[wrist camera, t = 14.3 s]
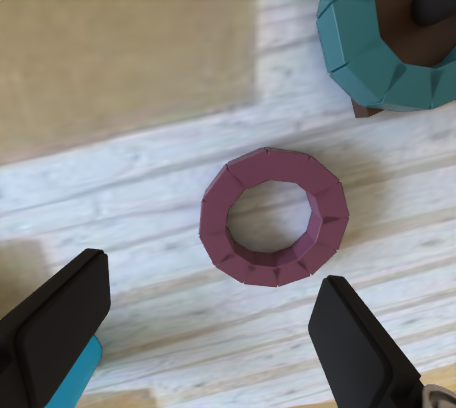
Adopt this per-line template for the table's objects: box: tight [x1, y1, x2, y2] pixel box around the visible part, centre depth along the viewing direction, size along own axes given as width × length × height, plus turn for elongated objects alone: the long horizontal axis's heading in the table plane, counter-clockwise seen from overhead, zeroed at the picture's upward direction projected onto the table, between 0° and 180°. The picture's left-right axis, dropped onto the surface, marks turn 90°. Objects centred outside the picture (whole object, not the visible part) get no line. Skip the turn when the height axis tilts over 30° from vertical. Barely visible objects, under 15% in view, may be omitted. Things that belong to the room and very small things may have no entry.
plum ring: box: [199, 147, 349, 287], centre depth 17 cm, size 11×11×2 cm
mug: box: [44, 335, 102, 408], centre depth 19 cm, size 12×8×8 cm
